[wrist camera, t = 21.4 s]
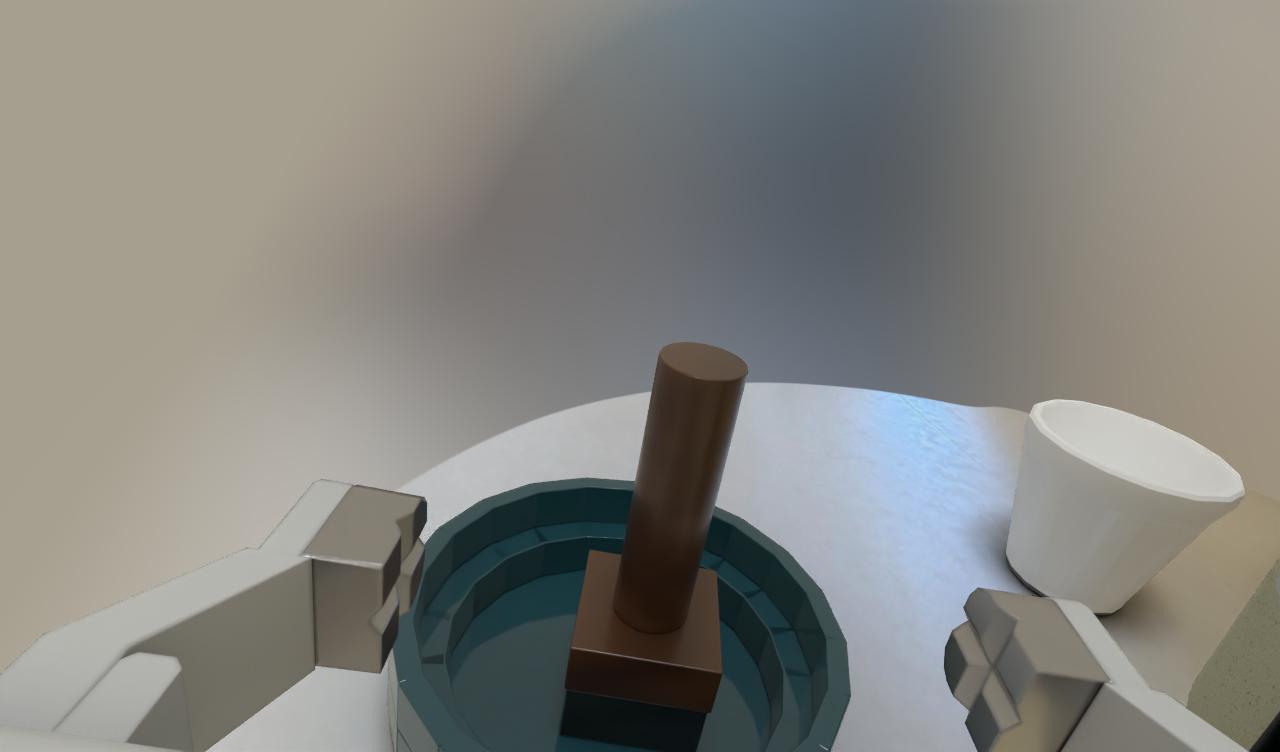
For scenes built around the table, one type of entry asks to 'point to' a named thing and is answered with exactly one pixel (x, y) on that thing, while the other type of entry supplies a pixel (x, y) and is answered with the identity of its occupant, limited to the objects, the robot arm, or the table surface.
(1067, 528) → the cup
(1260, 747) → the planter
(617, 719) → the post on square base
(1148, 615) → the table surface
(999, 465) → the table surface
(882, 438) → the table surface
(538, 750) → the dish
